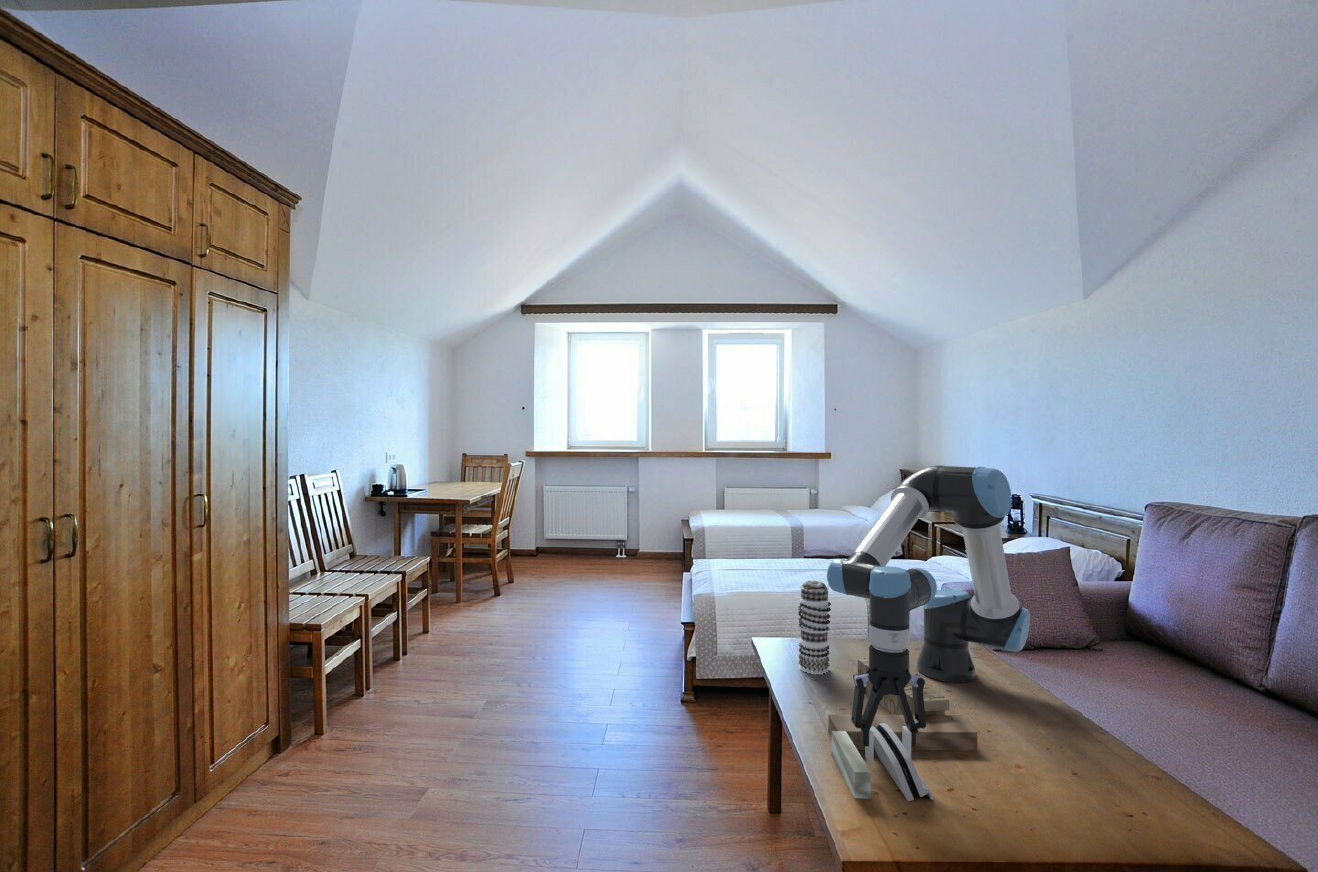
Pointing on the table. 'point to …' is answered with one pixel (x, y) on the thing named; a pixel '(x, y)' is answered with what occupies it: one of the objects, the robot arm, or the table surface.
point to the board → (935, 736)
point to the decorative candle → (814, 628)
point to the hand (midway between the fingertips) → (887, 761)
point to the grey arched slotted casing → (898, 762)
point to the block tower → (932, 699)
